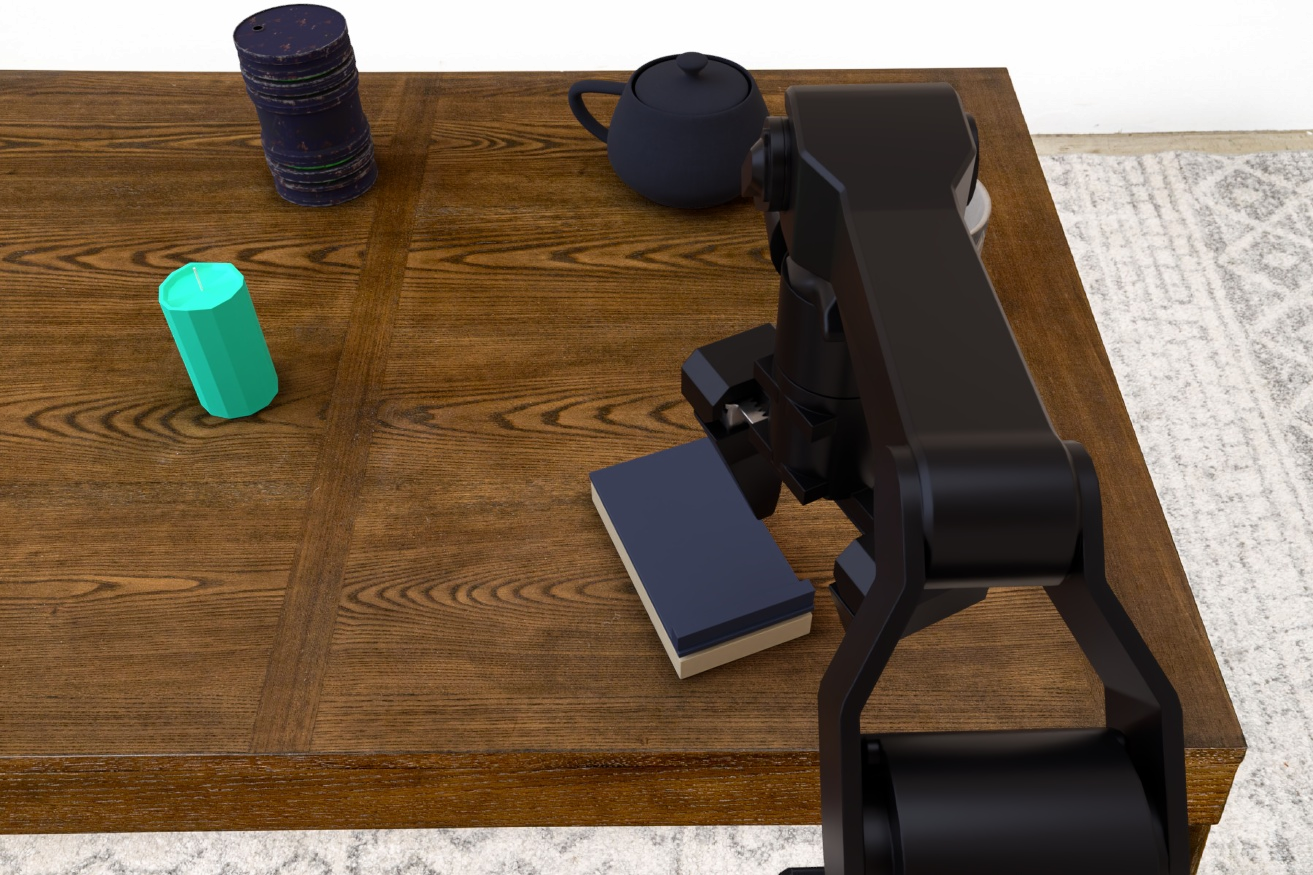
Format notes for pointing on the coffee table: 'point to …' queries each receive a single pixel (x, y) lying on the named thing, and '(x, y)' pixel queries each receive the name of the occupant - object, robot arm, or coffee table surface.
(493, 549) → the coffee table surface
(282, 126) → the dark blue barrel
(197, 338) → the candle
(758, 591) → the cover
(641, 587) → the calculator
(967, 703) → the coffee table surface
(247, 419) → the coffee table surface
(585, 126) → the teapot
